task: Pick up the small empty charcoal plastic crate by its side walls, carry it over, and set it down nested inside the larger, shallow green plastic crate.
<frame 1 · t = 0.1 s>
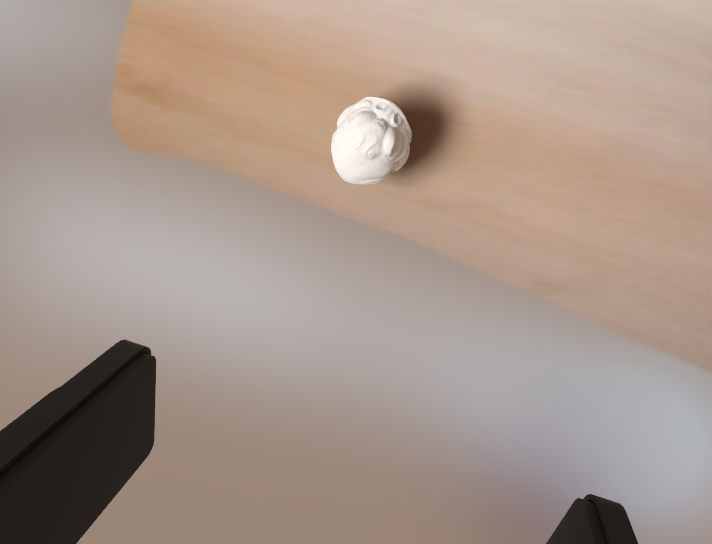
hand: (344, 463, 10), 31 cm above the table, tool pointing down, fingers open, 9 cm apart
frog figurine: (379, 136, 37), on the table
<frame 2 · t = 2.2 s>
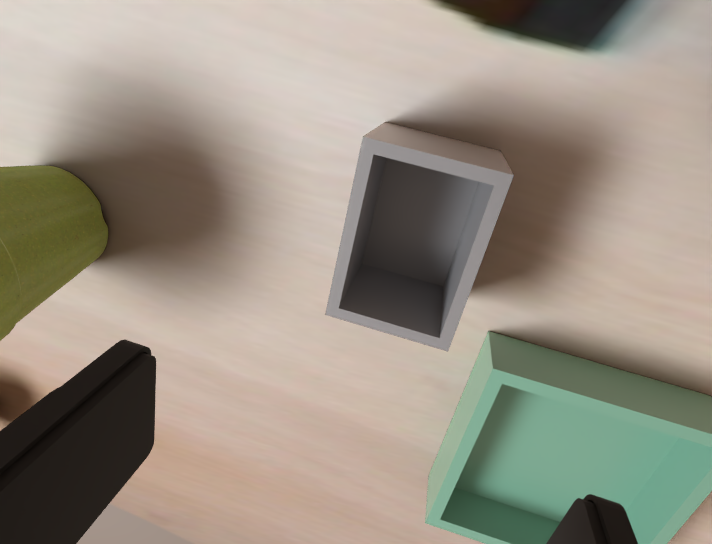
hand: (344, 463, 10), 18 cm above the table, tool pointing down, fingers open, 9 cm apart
big crate: (552, 440, 30), on the table
small crate: (420, 213, 26), on the table
plant pot: (66, 216, 32), on the table
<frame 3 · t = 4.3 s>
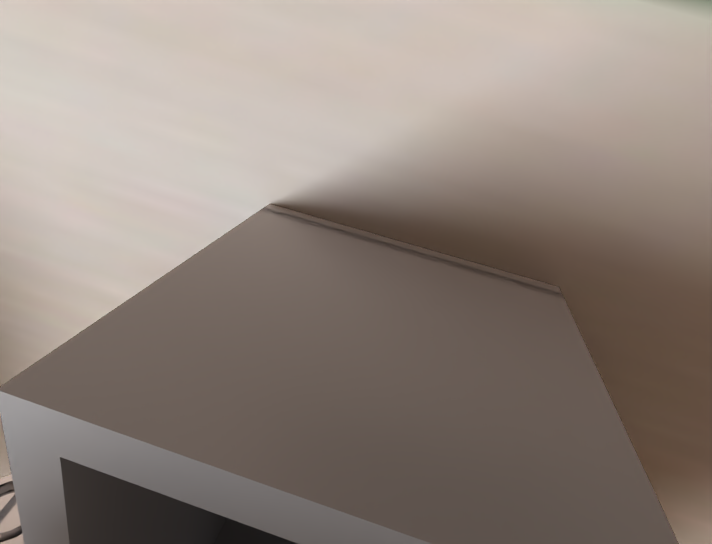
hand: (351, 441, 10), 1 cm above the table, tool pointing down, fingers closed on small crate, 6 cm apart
small crate: (362, 400, 11), on the table, touching gripper
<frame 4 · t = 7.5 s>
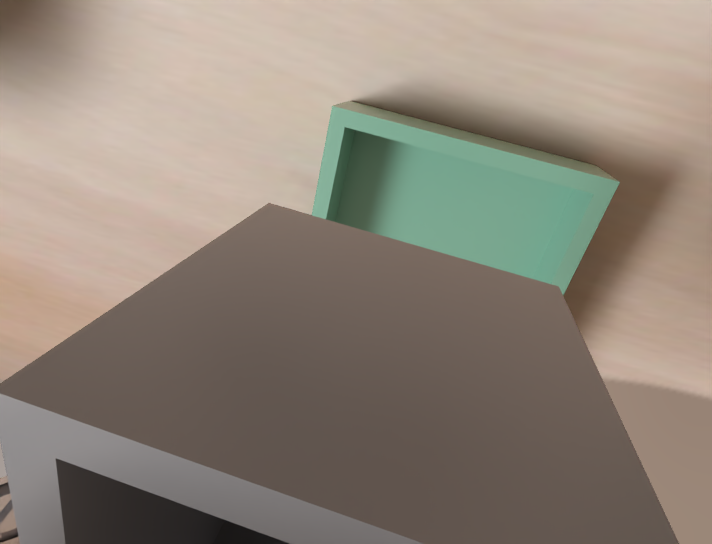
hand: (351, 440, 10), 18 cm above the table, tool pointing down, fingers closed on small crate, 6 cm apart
big crate: (432, 244, 27), on the table
small crate: (362, 400, 11), point 17 cm above the table, touching gripper
when the fingers open (5 cm above the table, at t = 10.7 s): small crate drops 2 cm, resting on big crate.
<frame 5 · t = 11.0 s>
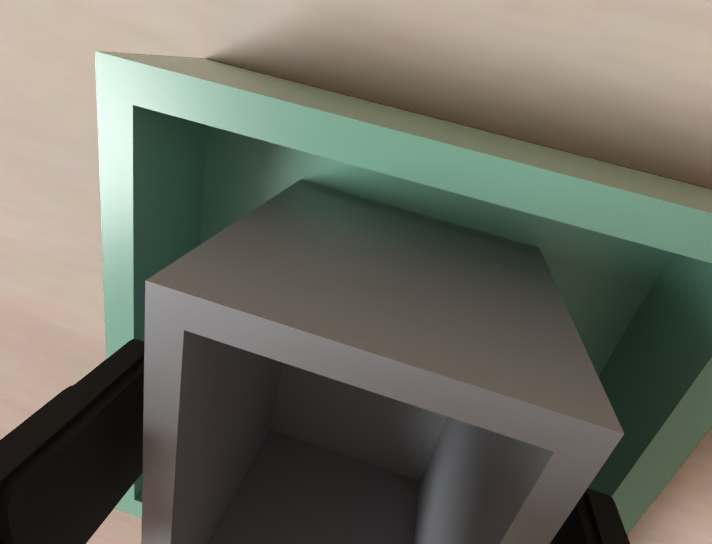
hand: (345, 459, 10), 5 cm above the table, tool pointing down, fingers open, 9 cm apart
big crate: (382, 335, 14), on the table
small crate: (375, 350, 13), point 1 cm above the table, touching big crate
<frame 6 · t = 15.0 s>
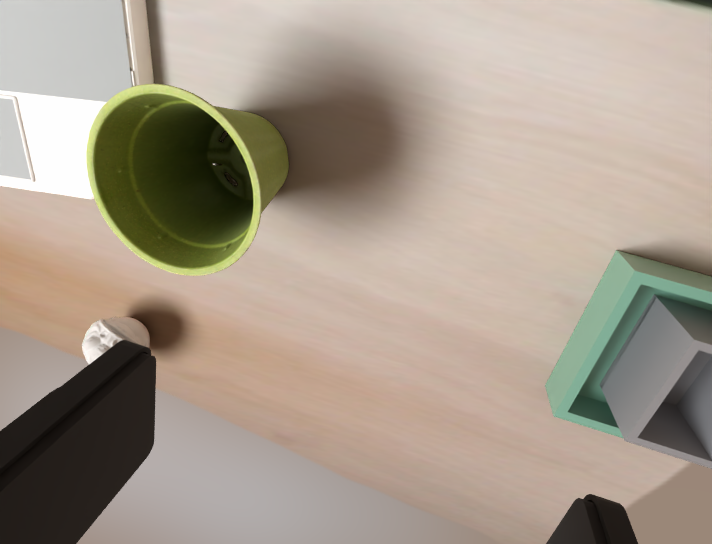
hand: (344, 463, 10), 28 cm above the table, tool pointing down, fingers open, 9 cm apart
big crate: (661, 347, 36), on the table
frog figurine: (140, 326, 48), on the table
small crate: (665, 354, 35), point 1 cm above the table, touching big crate
plant pot: (249, 157, 38), on the table
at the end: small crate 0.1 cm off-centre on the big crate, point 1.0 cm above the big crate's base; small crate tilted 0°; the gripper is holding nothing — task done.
